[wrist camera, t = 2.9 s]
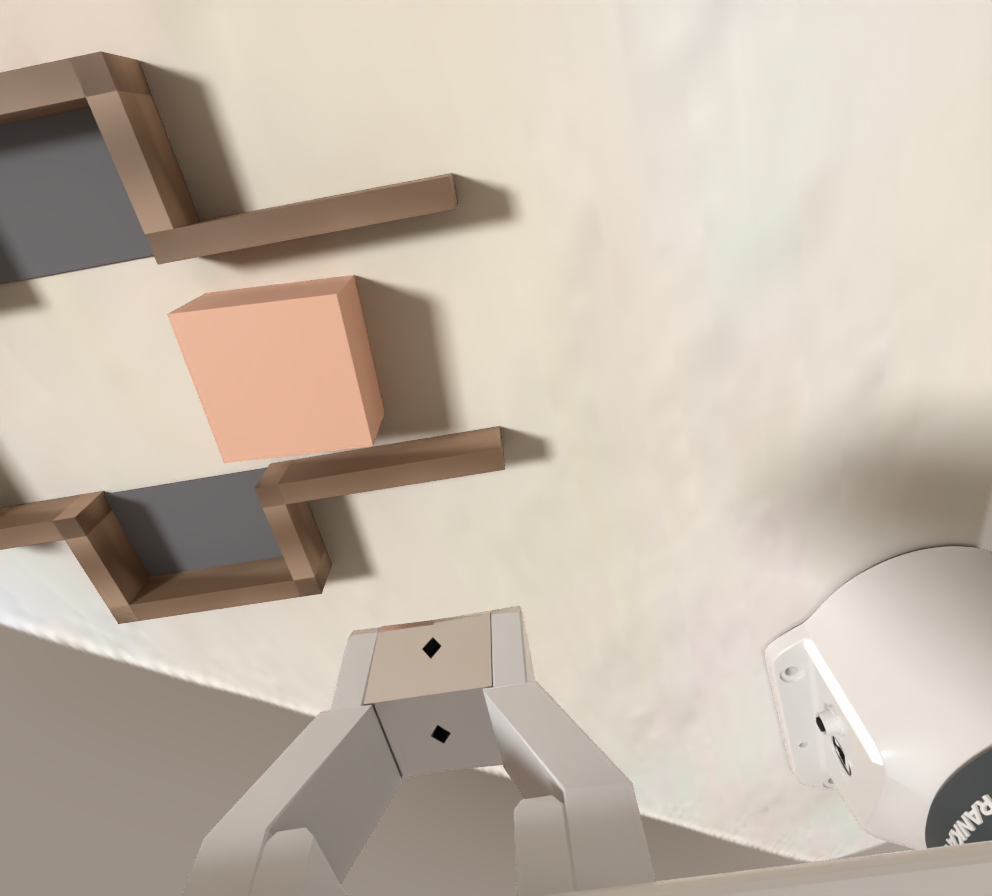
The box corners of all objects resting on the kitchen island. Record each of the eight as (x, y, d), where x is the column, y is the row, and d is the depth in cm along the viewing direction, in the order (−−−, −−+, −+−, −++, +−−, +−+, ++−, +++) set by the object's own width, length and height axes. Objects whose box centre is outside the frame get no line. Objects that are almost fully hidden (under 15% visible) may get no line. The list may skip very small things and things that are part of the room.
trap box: (519, 536, 34) (524, 582, 30) (24, 611, 36) (-26, 662, 32) (420, 1, 22) (408, -26, 19) (-311, 153, 24) (-448, 155, 20)
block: (385, 410, 30) (372, 446, 27) (253, 425, 31) (223, 463, 27) (355, 273, 27) (336, 294, 24) (208, 291, 27) (167, 314, 24)
